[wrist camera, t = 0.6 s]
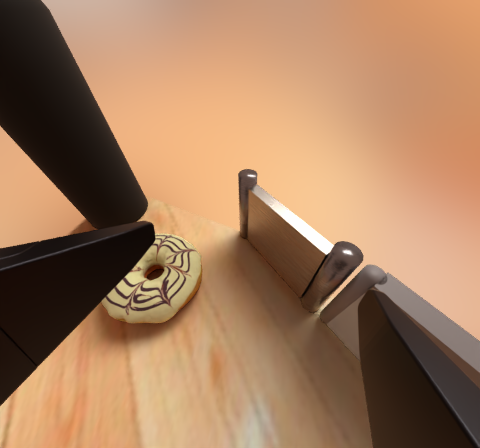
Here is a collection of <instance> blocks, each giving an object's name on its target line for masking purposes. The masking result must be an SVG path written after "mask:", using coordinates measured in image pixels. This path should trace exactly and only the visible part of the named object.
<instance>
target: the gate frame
mask: <svg viewBox="0 0 480 448" xmlns="http://www.w3.org/2000/svg"><path fill="white" fill-rule="evenodd" d="M238 176H239V210H240V235H241V237H242V238H245V239H248V241H249V242H250V243H251V244H252V245H253V246H254V247H255V248H256V250H257V251H258V252H259V253H260V254H261V255H262V256H263V257H264V259H265V260H266V261H267V262H268V263H269V264H270V265H271V266H272V267H273V269H274V270H275V271H276V272H277V273H278V274H279V275H280V276H281V277H282V279H283V280H284V281H285V282H286V283H287V284H288V285H289V286H290V287H291V289H292V290H293V291H294V292H295V293H296V294H297V295H298V296H299V298H301V297H302V299H301V302H302V305H303V307H304V308H305V309H306V310H307V311H310V312H316V311H318V310H319V308H320V307H321V306H322V305H323V304H324V303H325V302H326V301H327V300H328V299H329V298H330V296H331V295H332V294H333V293H334V292H335V291H336V290H337V289H338V288H339V287H340V285H341V284H342V283H343V282H344V281H345V280H346V279H347V278H348V277H349V276H350V274H351V273H352V272H353V271H354V270H355V269H356V268H357V267H358V266H359V265H360V264H361V262H362V261H363V254H362V252H361V250H360V249H359V248H358V247H357V246H355V245H354V244H352V243H349V242H344V241H341V242H337V243H336V244H335V245H333V244H331V243H330V242H329V241H327V240H326V239H325V238H324V237H323V236H321V235H320V234H319V233H317V232H316V231H315V230H314V229H312V228H311V227H310V226H309V225H307V224H306V223H305V222H304V221H302V220H301V219H300V218H299V217H297V216H296V215H295V214H294V213H292V212H291V211H290V210H289V209H287V208H286V207H285V206H284V205H282V204H281V203H280V202H279V201H277V200H276V199H275V198H274V197H272V196H271V195H270V194H268V193H267V192H266V191H265V190H264V189H262V188H261V187H260V186H258V185H257V173H256V172H255V171H254V170H250V169H245V170H242V171H240V172H239V174H238Z"/></svg>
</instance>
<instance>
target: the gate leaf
mask: <svg viewBox="0 0 480 448" xmlns="http://www.w3.org/2000/svg"><path fill="white" fill-rule="evenodd" d="M369 289H375V290H378V291H381V292H384V293H385V294H386V295H387V296H388V297H389V298H390V299H391V300H392V301H393V302H394V303H395V304H396V305H397V306H398V307H399V308H400V309H401V310H402V311H403V312H404V313H405V314H406V315H407V316H408V317H409V318H410V319H411V320H412V321H413V322H414V323H415V324H416V325H417V326H418V327H419V328H420V329H421V330H422V331H423V332H424V333H425V334H426V335H427V336H428V337H429V338H430V339H431V340H432V341H433V342H434V343H435V344H436V345H437V346H438V347H439V348H440V349H441V350H442V351H443V352H444V353H445V354H446V355H447V356H448V357H449V358H450V359H451V360H452V361H453V362H454V363H455V364H456V365H457V366H458V367H459V368H460V369H461V370H462V371H463V372H464V373H465V374H466V375H467V376H468V377H469V378H470V379H471V380H472V381H473V382H474V383H475V384H476V385H477V386H478V387H479V388H480V341H479V340H477V339H476V338H475V337H474V336H472V335H471V334H469V333H468V332H467V331H465V330H464V329H463V328H462V327H460V326H459V325H458V324H456V323H455V322H454V321H452V320H451V319H450V318H448V317H447V316H445V315H444V314H443V313H442V312H440V311H439V310H438V309H436V308H435V307H433V306H432V305H431V304H430V303H428V302H427V301H426V300H424V299H423V298H422V297H420V296H419V295H417V294H416V293H414V292H413V291H412V290H411V289H409V288H408V287H407V286H405V285H404V284H403V283H401V282H400V281H399V280H397V279H396V278H395V277H393V276H392V275H391V274H389V273H387V274H386V273H385V272H384V271H383V270H382V269H381V268H379V267H378V266H375V265H366V266H365V267H364V268H363V269H362V270H361V271H360V272H359V273H358V274H357V275H356V276H355V278H353V279H352V280H351V281H350V282H349V283H348V284H347V285H346V287H345V288H344V289H343V290H342V291H341V292H340V293H339V294H338V295H337V296H336V297H335V298H334V299H333V300H332V301H331V302H330V303H329V304H328V305H327V306H326V307H325V308H324V309H323V310H322V311H321V313H320V318H321V320H322V321H323V322H324V323H325V324H326V325H327V326H328V327H329V328H330V329H331V330H332V331H333V332H334V333H335V334H336V336H337V337H338V338H339V339H340V340H341V341H342V342H343V343H344V344H345V345H346V347H347V348H348V349H349V350H350V351H351V352H352V353H353V354H354V355H355V357H356V358H357V359H358V360H359V361H360V355H359V335H358V305H359V303H360V301H361V299H362V298H363V296H364V295H365V293H366V292H367V290H369Z"/></svg>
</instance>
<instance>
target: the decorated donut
mask: <svg viewBox="0 0 480 448" xmlns="http://www.w3.org/2000/svg"><path fill="white" fill-rule="evenodd" d="M155 237H156V239H155V242H154V243H153V245H152V246H151V247H150V248H149V250H148V251H147V252H146V253H145V255H144V256H143V257H142V258H141V260H140V261H139V262H138V263H137V265H136V266H135V267H134V268H133V269H132V270H131V271H130V272H129V273H128V274H127V275H126V276H125V278H124V279H123V280H122V281H121V282H120V283H119V284H118V285H117V286H116V287H115V288H114V289H113V290H112V291H111V292H110V293H109V294H108V295H107V296H106V297H105V298H104V299H103V300H102V301H101V303H102V305H103V307H105V308H106V309H107V311H108V314H109V316H111V317H113V318H115V319H117V320H119V321H126V322H128V323H144V322H145V323H163V322H165V321H167V320H169V319H170V318H172V317H173V316H174V315H175V314H176V313H177V311H178V310H180V309H182V307H183V306H184V305H186V304H187V303H188V302H189V301H190V300H191V298H192V297H193V296H194V295H195V293H196V292H197V290H198V288H199V287H200V283H201V277H202V266H201V255H200V253H199V252H198V251H197V250H196V248H195V247H194V246H193V245H192V244H191V243H190V242H188V241H186V240H185V239H183V238H181V237H179V236H176V235H173V234H155ZM156 269H164V272H163V274H162V276H160V277H159V278H157V279H154V280H151V281H150V280H148V279H147V278H146V277H147V276H148V275H149V274H150V273H151V272H152V271H154V270H156Z"/></svg>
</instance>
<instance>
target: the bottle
mask: <svg viewBox="0 0 480 448" xmlns="http://www.w3.org/2000/svg"><path fill="white" fill-rule="evenodd" d="M0 126H1V127H2V128H3V129H4V130H5V131H6V133H7V134H8V135H9V136H10V137H11V138H12V139H13V140H14V141H15V142H16V143H17V144H18V146H19V147H20V148H21V149H22V150H23V151H24V152H25V153H26V154H27V155H28V156H29V157H30V158H31V160H32V161H33V162H34V163H35V164H36V165H37V166H38V167H39V168H40V169H41V170H42V171H43V173H44V174H45V175H46V176H47V177H48V178H49V179H50V180H51V181H52V182H53V183H54V184H55V185H56V187H57V188H58V189H59V190H60V191H61V192H62V193H63V194H64V195H65V196H66V197H67V199H68V200H69V201H70V202H71V203H72V204H73V205H74V206H75V207H76V208H77V209H78V210H79V211H80V213H81V214H82V215H83V216H84V217H85V218H86V219H87V220H88V221H89V222H90V223H91V224H92V226H93V227H95V228H97V229H104V228H109V227H114V226H119V225H124V224H129V223H134V222H135V221H137V220H138V219H139V218H140V217H141V216H142V215H143V214H144V213H145V211H146V209H147V207H148V202H147V199H146V197H145V195H144V193H143V191H142V190H141V187H140V185H139V184H138V182H137V180H136V178H135V176H134V174H133V172H132V170H131V168H130V166H129V164H128V162H127V160H126V158H125V156H124V154H123V152H122V151H121V149H120V147H119V145H118V143H117V141H116V139H115V137H114V135H113V133H112V131H111V129H110V127H109V125H108V123H107V121H106V119H105V117H104V115H103V114H102V112H101V110H100V108H99V106H98V104H97V102H96V100H95V98H94V96H93V94H92V92H91V90H90V88H89V86H88V84H87V82H86V80H85V79H84V77H83V75H82V73H81V71H80V69H79V67H78V65H77V63H76V61H75V59H74V57H73V55H72V53H71V51H70V49H69V48H68V45H67V44H66V42H65V40H64V38H63V36H62V34H61V32H60V30H59V28H58V26H57V24H56V22H55V20H54V18H53V16H52V15H51V12H50V10H49V9H48V8H47V7H46V6H45V4H44V3H43V2H42V1H41V0H0Z"/></svg>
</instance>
